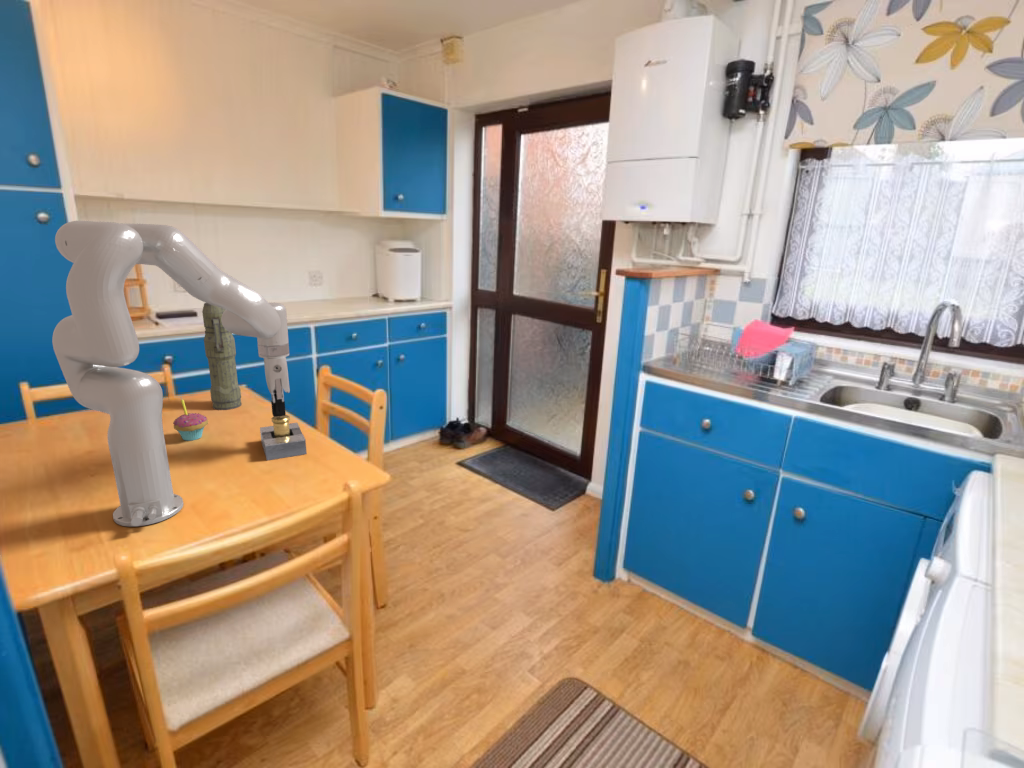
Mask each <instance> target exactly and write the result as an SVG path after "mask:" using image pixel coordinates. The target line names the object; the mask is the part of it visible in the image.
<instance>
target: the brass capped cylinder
mask: <svg viewBox="0 0 1024 768" xmlns="http://www.w3.org/2000/svg"><path fill="white" fill-rule="evenodd" d="M270 419H271V422H272V424H273V425H272V426H273V427H274V437H275V438H279V437H286V436H290V429H289V424H290V420H291V419H290V415H287V414H286V415H285V416H277V417H274V416H272V417H271V418H270Z"/></svg>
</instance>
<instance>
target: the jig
mask: <svg viewBox="0 0 1024 768" xmlns="http://www.w3.org/2000/svg"><path fill="white" fill-rule="evenodd" d="M289 429H290V436H286V437H279V438H275V437H274V427H273V425H270V426H262V427H259V431H260V432H259V433H260V441H261V445H262V449H263V452H264V455H265V459H266V461H271V460H278V459H284V458H291V457H298V456H302V455H307V454H308V453H307V441H306V438H305V436H304V433H303V431H301V427H300V425H299V423H298V422H291V423H290V422H289Z"/></svg>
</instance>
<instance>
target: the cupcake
mask: <svg viewBox="0 0 1024 768" xmlns="http://www.w3.org/2000/svg"><path fill="white" fill-rule="evenodd" d="M180 399H181V400H180V402H181V405H182V409H183V414H182V415H179V416H178V417H176V418H175V420H173V422H172V423H173V429H174V430H176V431H177V432H178V433H179V435H180V437H181V438H182V440H184V441H187V442H192V441H196V440H199V439H201V438H202V437H203V432H204V429H205V427H206V426H208V425H209V419H208V418H207V416H205V415H204V414H203V415H202V414H201V413H199V412H198V413H196V412H195V413H193V412H191V413H188V411H187V406H186V404H185V400H184V399H183V398H182V397H180Z"/></svg>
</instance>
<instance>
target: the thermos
mask: <svg viewBox="0 0 1024 768" xmlns="http://www.w3.org/2000/svg"><path fill="white" fill-rule="evenodd" d="M202 307H203V308H202V311H201V312H202V319H203V327H204V337H203V338H204V339H203V343H204V345H203V346H204V352H205V357H206V359H207V361H208V363H207V364H208V368H209V369H208V370H209V377H210V389H209V390H210V391H209V393H210V398H211V399H210V400H211V402H212V408H213V409H214V410H218V411H227V410H233V409H234V410H235V409H237V408H239V407H241V406H242V404H243V403H242V399H241V398H242V392H241V387H240V386H239V382H238V373H237V363H236V355H237V352H236V351H237V350H236V342H235V341H236V340H235V337H234V334H233V333H230V332H229V331H227V330H226V329H225V328H224V327H223V325H222V321H221V318H222V314H223V312H224V311H225V309H223V308H220V307H217V306H214V305H211V304H208V303H206V302H203V306H202Z"/></svg>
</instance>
